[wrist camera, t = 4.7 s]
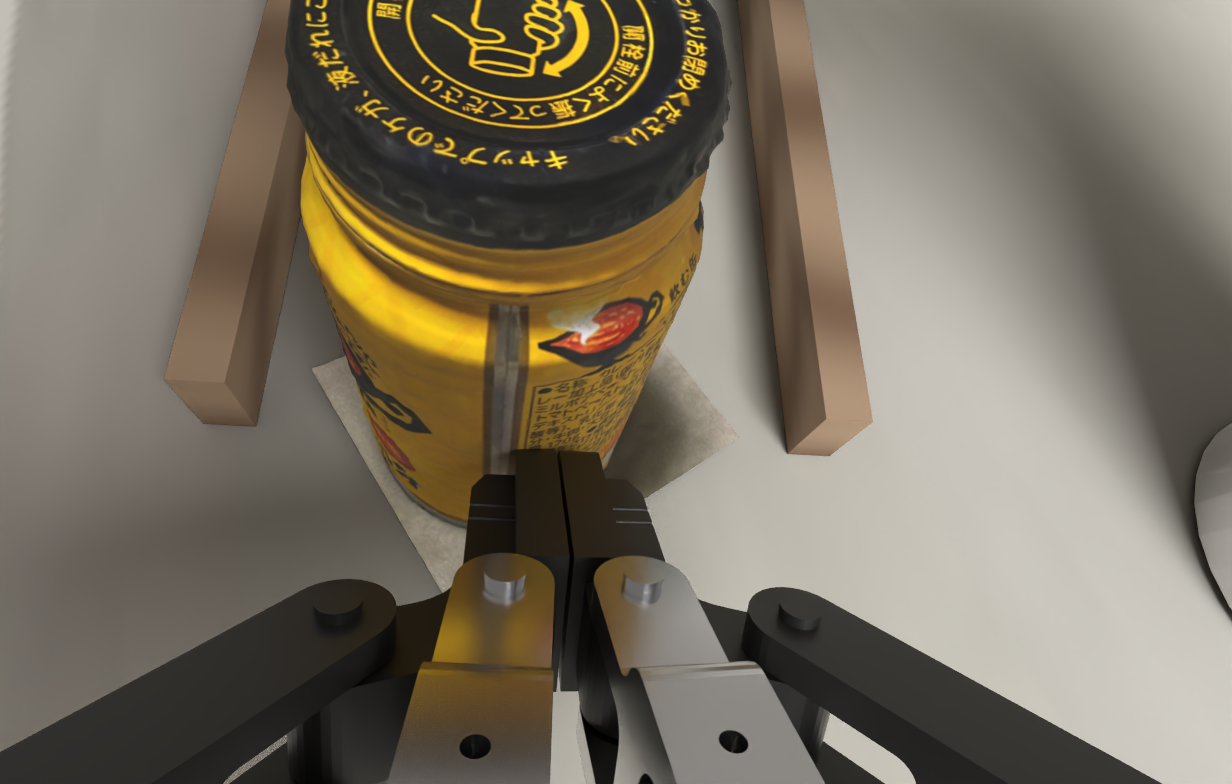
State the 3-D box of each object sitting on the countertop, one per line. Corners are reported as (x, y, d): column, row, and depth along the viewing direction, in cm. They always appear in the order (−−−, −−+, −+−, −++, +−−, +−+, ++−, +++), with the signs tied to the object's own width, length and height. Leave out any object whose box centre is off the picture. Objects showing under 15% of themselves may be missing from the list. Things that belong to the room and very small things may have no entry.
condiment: (312, 372, 19) (89, -109, 8) (587, 244, 22) (691, -229, 11) (457, 621, 17) (418, 424, 6) (735, 441, 20) (1033, 102, 9)
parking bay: (829, 456, 20) (904, 396, 17) (203, 423, 18) (133, 345, 14) (761, -42, 29) (801, -151, 25) (332, -110, 26) (309, -243, 23)
